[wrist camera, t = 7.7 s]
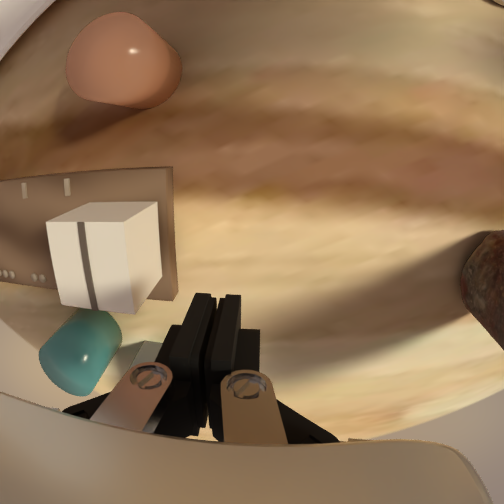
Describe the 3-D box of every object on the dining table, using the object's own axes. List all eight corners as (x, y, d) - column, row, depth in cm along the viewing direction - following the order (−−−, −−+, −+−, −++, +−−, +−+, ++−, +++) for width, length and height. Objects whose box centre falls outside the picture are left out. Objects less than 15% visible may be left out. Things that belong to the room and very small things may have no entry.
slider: (89, 202, 19) (44, 222, 14) (157, 201, 19) (122, 222, 14) (98, 271, 21) (60, 305, 16) (162, 276, 20) (134, 315, 16)
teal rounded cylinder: (68, 301, 24) (30, 338, 18) (116, 308, 24) (82, 350, 18) (80, 348, 26) (50, 388, 20) (126, 356, 25) (100, 402, 20)
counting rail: (-24, 184, 21) (-36, 188, 19) (172, 166, 20) (164, 168, 18) (-9, 272, 24) (-20, 279, 22) (178, 291, 23) (172, 302, 21)
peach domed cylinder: (116, 46, 17) (71, 23, 11) (184, 37, 17) (155, 4, 11) (112, 112, 19) (62, 107, 13) (180, 106, 18) (147, 94, 13)
